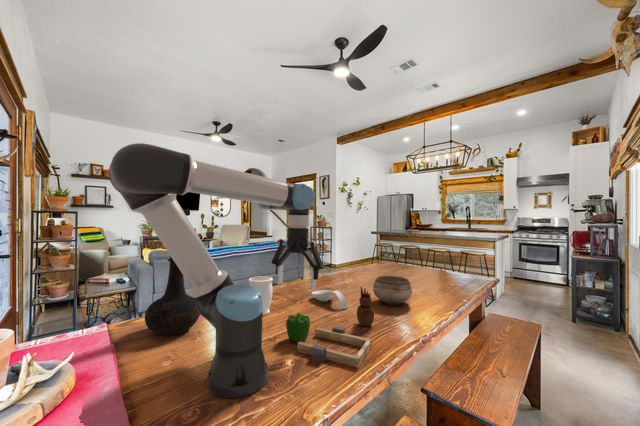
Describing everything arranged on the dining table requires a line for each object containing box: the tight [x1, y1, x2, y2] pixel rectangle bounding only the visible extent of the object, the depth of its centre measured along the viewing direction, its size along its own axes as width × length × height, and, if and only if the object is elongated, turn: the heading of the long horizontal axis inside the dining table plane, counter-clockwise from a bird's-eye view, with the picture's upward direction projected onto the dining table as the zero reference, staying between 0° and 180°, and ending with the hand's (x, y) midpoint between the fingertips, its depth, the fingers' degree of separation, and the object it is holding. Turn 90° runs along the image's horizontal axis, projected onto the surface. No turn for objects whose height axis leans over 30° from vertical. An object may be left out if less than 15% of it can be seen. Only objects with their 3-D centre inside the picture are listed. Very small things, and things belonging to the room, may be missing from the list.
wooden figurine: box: [356, 286, 375, 327], centre depth 109 cm, size 7×6×15 cm
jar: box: [248, 275, 274, 316], centre depth 121 cm, size 11×10×15 cm
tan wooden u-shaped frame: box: [296, 325, 373, 369], centre depth 89 cm, size 18×20×4 cm
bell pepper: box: [285, 311, 311, 343], centre depth 95 cm, size 8×8×10 cm
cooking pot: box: [372, 274, 413, 306], centre depth 137 cm, size 25×19×12 cm
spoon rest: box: [311, 289, 348, 311], centre depth 136 cm, size 24×12×7 cm, turn 33°
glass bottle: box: [144, 255, 201, 336], centre depth 101 cm, size 18×18×28 cm
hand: (296, 286), depth 99 cm, fingers open, 13 cm apart
